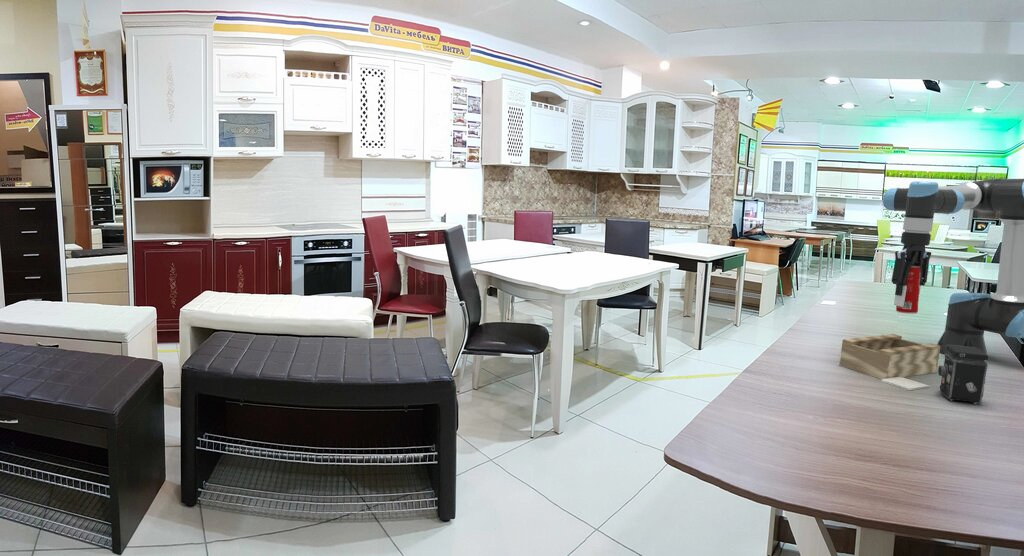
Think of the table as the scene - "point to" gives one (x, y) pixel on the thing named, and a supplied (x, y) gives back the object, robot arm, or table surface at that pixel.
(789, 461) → the table surface
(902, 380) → the tile
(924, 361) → the slot box
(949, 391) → the camera
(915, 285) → the beverage can
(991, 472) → the table surface
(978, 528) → the table surface
